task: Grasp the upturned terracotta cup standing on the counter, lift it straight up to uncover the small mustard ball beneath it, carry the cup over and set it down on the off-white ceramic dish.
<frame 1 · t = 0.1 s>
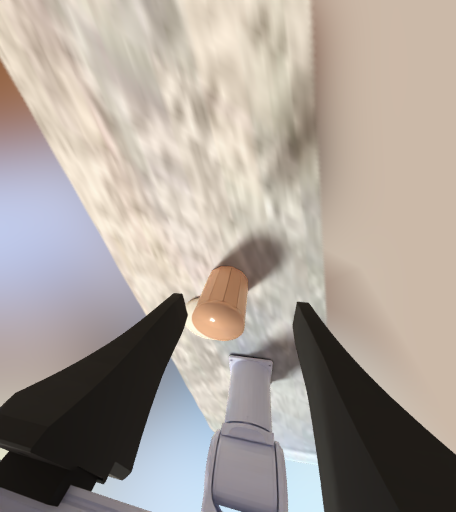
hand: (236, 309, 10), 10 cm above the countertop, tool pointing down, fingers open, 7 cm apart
dish: (210, 318, 27), on the countertop
cup: (228, 283, 22), on the countertop
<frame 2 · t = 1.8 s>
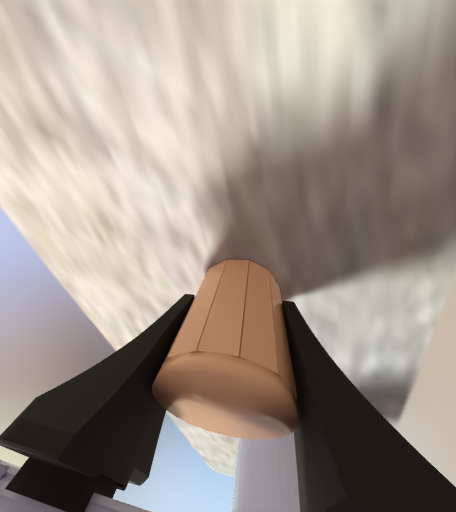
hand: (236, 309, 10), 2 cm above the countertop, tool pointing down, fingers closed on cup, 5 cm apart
cup: (239, 292, 12), on the countertop, touching gripper
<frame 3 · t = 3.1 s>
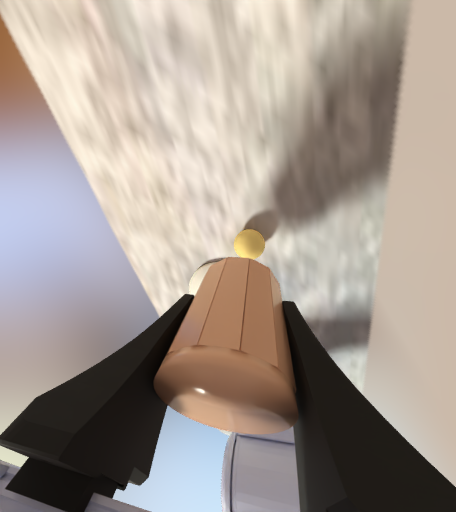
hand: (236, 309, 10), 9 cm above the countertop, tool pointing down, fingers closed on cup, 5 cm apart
dish: (223, 290, 22), on the countertop
cup: (239, 289, 12), point 7 cm above the countertop, touching gripper
ball: (249, 244, 16), on the countertop
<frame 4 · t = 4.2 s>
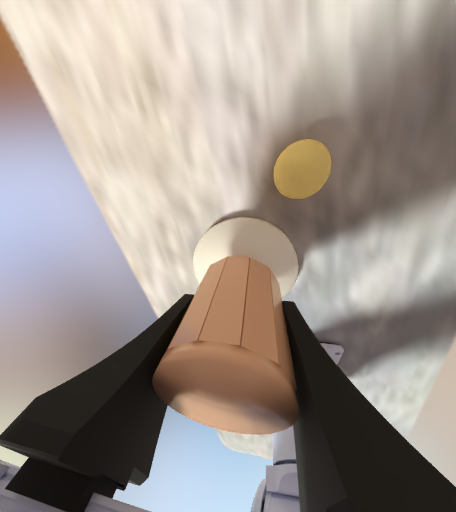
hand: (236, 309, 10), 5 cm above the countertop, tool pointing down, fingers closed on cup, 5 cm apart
dish: (243, 265, 15), on the countertop
cup: (239, 289, 12), point 3 cm above the countertop, touching gripper
ball: (300, 171, 9), on the countertop
when the fingers open (4 cm above the countertop, at t = 4.9 s): cup drops 2 cm, resting on dish.
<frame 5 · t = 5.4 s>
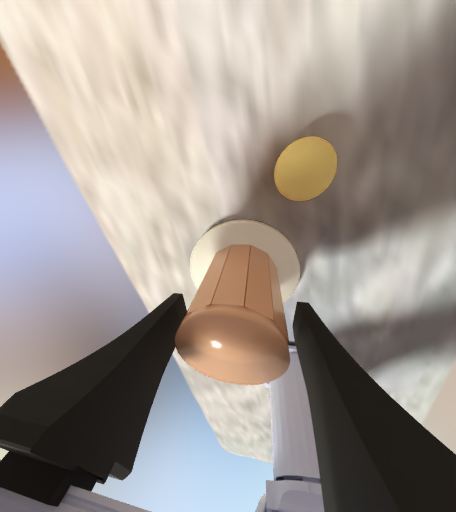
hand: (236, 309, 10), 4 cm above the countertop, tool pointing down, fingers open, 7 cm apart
dish: (242, 270, 14), on the countertop
cup: (242, 274, 13), point 1 cm above the countertop, touching dish
ball: (303, 171, 9), on the countertop
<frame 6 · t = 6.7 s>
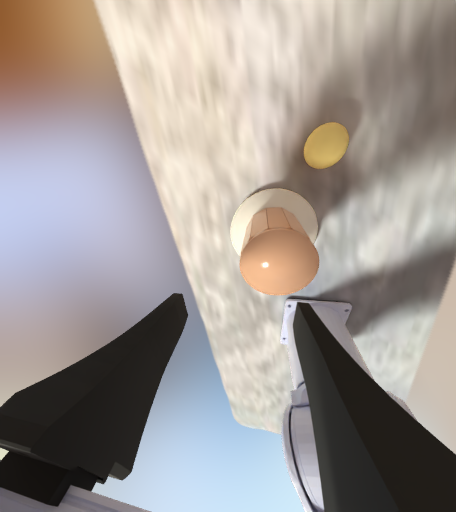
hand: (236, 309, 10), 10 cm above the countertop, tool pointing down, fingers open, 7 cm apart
dish: (271, 231, 18), on the countertop
cup: (272, 233, 18), point 1 cm above the countertop, touching dish
ball: (324, 147, 13), on the countertop
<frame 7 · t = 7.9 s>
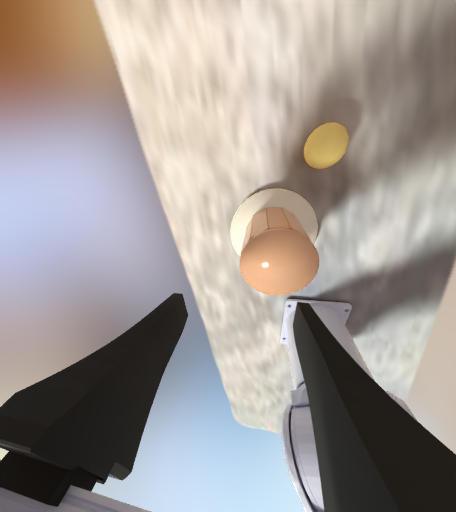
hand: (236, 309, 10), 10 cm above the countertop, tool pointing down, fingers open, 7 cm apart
dish: (271, 231, 18), on the countertop
cup: (272, 233, 18), point 1 cm above the countertop, touching dish
ball: (324, 147, 13), on the countertop
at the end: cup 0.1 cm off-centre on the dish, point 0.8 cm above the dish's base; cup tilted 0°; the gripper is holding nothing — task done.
